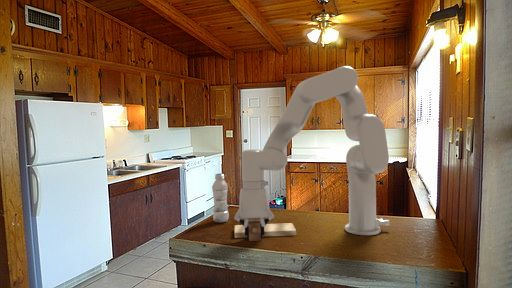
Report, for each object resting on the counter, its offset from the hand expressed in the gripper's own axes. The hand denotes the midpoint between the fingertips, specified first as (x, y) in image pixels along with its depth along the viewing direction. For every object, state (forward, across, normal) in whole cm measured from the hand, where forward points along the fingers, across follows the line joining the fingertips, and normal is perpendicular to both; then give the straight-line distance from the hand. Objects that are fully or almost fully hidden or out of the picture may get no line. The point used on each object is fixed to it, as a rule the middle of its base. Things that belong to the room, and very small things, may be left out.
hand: (254, 236), depth 114 cm
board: (+1, -4, -7) cm, 8 cm away
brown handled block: (+1, 0, -5) cm, 5 cm away
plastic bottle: (+1, +13, -23) cm, 26 cm away
